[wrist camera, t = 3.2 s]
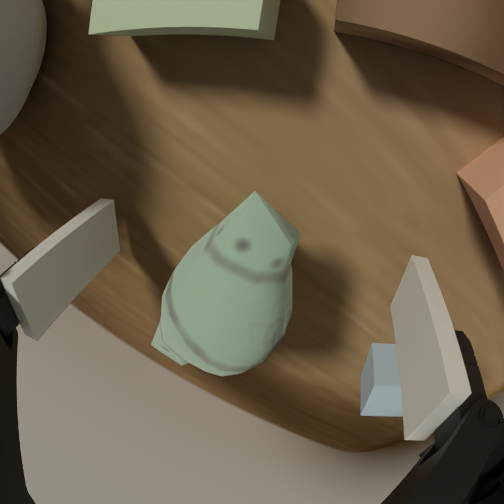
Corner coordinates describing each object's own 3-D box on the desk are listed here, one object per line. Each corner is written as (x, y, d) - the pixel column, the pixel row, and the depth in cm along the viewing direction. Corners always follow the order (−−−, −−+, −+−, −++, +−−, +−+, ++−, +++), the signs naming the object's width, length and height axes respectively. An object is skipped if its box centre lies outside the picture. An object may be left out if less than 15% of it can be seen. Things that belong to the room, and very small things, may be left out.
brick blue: (360, 373, 17) (360, 415, 15) (372, 340, 16) (374, 385, 13) (447, 375, 16) (455, 414, 14) (466, 344, 15) (478, 384, 12)
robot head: (266, 138, 12) (201, 208, 6) (351, 200, 12) (364, 318, 7) (180, 271, 16) (112, 372, 10) (247, 314, 16) (206, 427, 11)
